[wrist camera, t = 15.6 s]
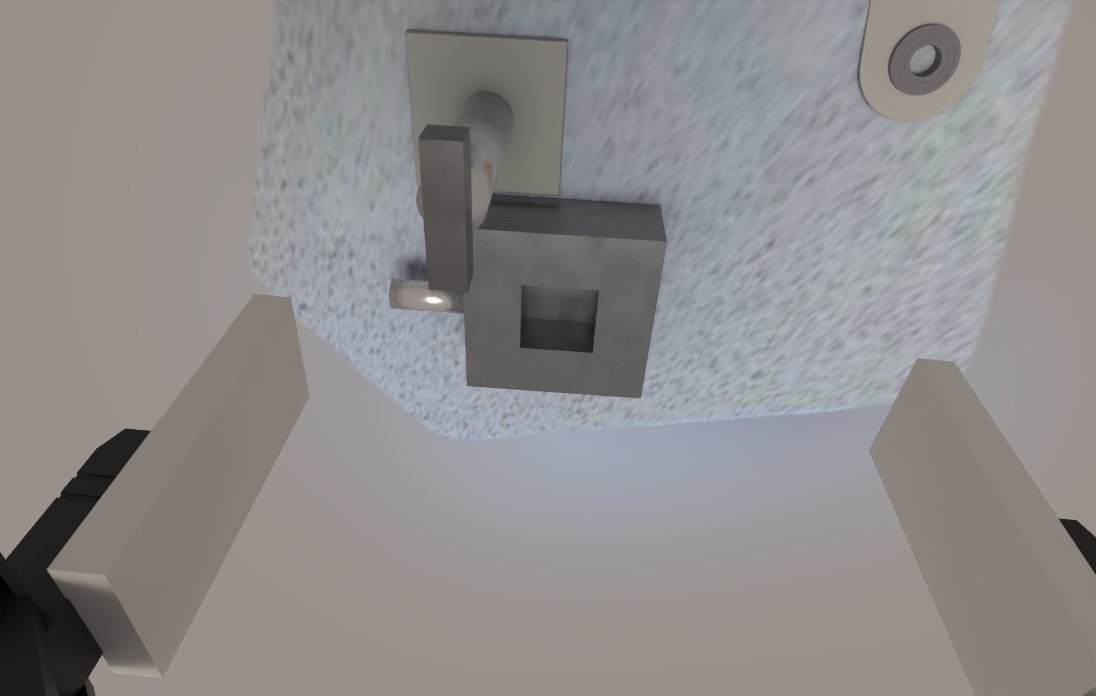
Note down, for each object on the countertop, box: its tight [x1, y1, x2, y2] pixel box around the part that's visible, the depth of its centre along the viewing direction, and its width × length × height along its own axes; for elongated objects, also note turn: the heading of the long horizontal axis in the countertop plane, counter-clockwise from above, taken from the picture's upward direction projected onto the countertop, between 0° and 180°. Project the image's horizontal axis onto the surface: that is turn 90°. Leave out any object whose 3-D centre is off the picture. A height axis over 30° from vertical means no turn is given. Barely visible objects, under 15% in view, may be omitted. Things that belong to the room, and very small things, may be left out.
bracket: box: [859, 0, 1000, 121], centre depth 35 cm, size 7×10×4 cm, turn 4°
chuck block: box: [389, 194, 667, 398], centre depth 45 cm, size 12×17×5 cm
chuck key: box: [416, 91, 514, 292], centre depth 34 cm, size 7×3×14 cm, turn 177°
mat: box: [405, 30, 568, 195], centre depth 40 cm, size 9×9×1 cm
